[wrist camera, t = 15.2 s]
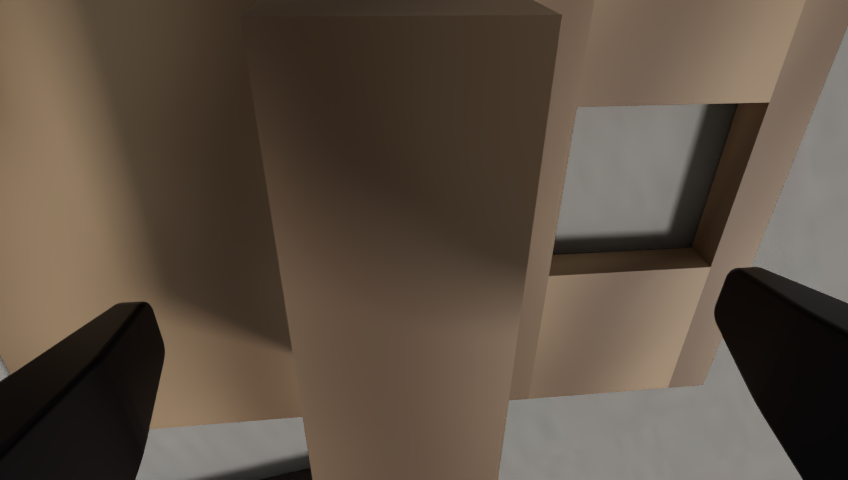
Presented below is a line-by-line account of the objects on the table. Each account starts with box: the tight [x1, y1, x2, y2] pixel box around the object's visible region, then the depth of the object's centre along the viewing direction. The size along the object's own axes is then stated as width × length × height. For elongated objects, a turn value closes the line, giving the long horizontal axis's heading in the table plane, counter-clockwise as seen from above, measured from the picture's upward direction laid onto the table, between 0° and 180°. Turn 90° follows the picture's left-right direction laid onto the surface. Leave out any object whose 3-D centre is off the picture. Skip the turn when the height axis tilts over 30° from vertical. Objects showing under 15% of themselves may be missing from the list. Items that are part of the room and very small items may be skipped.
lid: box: [0, 0, 848, 480], centre depth 11 cm, size 20×14×6 cm
